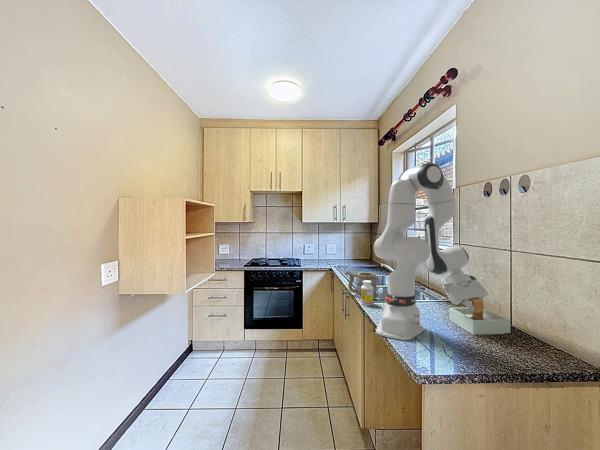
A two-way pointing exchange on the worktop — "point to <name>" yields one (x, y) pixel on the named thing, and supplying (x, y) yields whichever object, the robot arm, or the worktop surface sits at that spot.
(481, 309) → the peg
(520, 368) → the worktop surface
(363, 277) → the tankard
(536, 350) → the worktop surface
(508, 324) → the bore box
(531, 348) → the worktop surface
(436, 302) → the worktop surface
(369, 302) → the supplement bottle
